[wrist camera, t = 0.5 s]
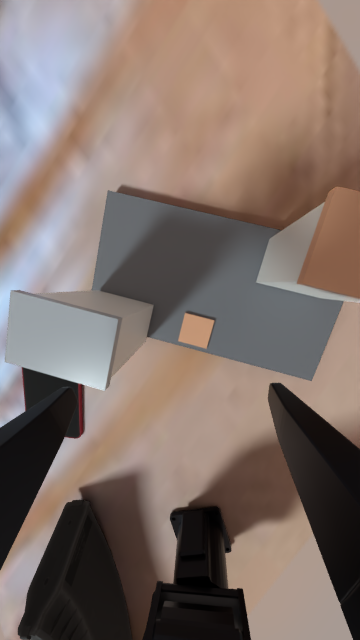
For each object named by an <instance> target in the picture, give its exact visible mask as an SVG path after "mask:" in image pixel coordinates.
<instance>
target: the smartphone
mask: <svg viewBox="0 0 360 640" xmlns="http://www.w3.org/2000/svg"><path fill="white" fill-rule="evenodd" d="M22 375H23V387H24V399H25V411H27V410H28V409H30V408H31V407H33V406H34V405H36V404H37V403H39V402H40V401H42V400H43V399H45V398H46V397H48V396H50V395H51V394H53V393H54V392H56V391H57V390H59V389H60V388H62V387H71V388H73V390H74V393H75V395H76V397H77V400H78V402H77V406H76V409H75V411H74V414H73V417H72V419H71V422H70V425H69V427H68V430H67V433H66V435H65V437H68V438H79V437H80V436H81V435H82V433H83V417H82V384H79V383H76V382H73V381H69V380H66V379H62V378H59V377H55V376H52V375H48V374H45V373H41V372H38V371H34V370H31V369H27V368H24V367H22Z"/></svg>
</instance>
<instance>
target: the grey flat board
mask: <svg viewBox="0 0 360 640" xmlns="http://www.w3.org/2000/svg"><path fill="white" fill-rule="evenodd" d="M280 231H282V230H278V229H274V228H269V227H265V226H261V225H256V224H252V223H248V222H243V221H239V220H234V219H230V218H226V217H221V216H217V215H213V214H208V213H204V212H200V211H195V210H191V209H187V208H182V207H178V206H174V205H169V204H165V203H161V202H156V201H152V200H148V199H143V198H139V197H134V196H130V195H126V194H121V193H117V192H113V191H108V193H107V199H106V205H105V212H104V218H103V224H102V230H101V236H100V243H99V249H98V255H97V261H96V268H95V274H94V280H93V286H92V291H93V290H99V291H102V292H106V293H110V294H114V295H118V296H122V297H126V298H129V299H133V300H137V301H141V302H145V303H149V304H153V305H154V306H153V311H152V315H151V320H150V324H149V329H148V333H147V337H150V338H154V339H157V340H161V341H165V342H169V343H172V344H176V345H180V346H183V347H187V348H191V349H195V350H198V351H202V352H206V353H209V354H213V355H217V356H221V357H224V358H228V359H232V360H235V361H239V362H243V363H247V364H250V365H254V366H258V367H261V368H265V369H269V370H273V371H276V372H280V373H284V374H287V375H291V376H295V377H299V378H302V379H306V380H310V381H312V379H313V376H314V374H315V371H316V369H317V366H318V364H319V361H320V359H321V356H322V354H323V351H324V349H325V346H326V344H327V341H328V339H329V336H330V334H331V331H332V329H333V326H334V324H335V321H336V319H337V316H338V314H339V311H340V309H341V306H342V304H343V301H340V300H331V299H323V298H317V297H313V296H309V295H305V294H301V293H297V292H293V291H289V290H285V289H281V288H277V287H273V286H268V285H264V284H260V283H256V281H257V277H258V274H259V271H260V268H261V265H262V261H263V258H264V255H265V252H266V249H267V245H268V242H269V239H270V238H271V237H273V236H274V235H276V234H277V233H279V232H280Z"/></svg>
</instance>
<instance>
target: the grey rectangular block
mask: <svg viewBox="0 0 360 640" xmlns="http://www.w3.org/2000/svg"><path fill="white" fill-rule="evenodd" d="M153 306H154V305H153V304H149V303H145V302H141V301H137V300H133V299H129V298H126V297H122V296H118V295H114V294H110V293H106V292H102V291H99V290H93V291H75V292H57V293H39V294H32V293H28V292H24V291H21V290H14V291H11V293H10V305H9V317H8V328H7V340H6V352H5V362H7V363H10V364H14V365H17V366H21V367H24V368H27V369H31V370H34V371H38V372H41V373H45V374H48V375H52V376H55V377H59V378H62V379H66V380H69V381H73V382H76V383H79V384H83V385H86V386H90V387H93V388H97V389H100V390H104V391H105V390H106V389H107V388H108V387H109V384H110V379H111V377H112V376H113V375H114V374H115V373H116V372H117V371H118V370H119V369H120V368H121V367H122V366H123V365H124V364H125V363H126V362H127V361H128V360H129V359H130V358H131V356H132V355H133V354H134V353H135V352H136V351H137V350H138V349H139V348H140V347H141V346H142V345H143V344H144V343H145V342H146V338H147V333H148V329H149V324H150V320H151V315H152V311H153Z"/></svg>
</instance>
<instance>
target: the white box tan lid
mask: <svg viewBox="0 0 360 640" xmlns="http://www.w3.org/2000/svg"><path fill="white" fill-rule="evenodd" d="M256 283H260V284H264V285H268V286H273V287H277V288H281V289H285V290H289V291H293V292H297V293H301V294H305V295H309V296H313V297H317V298H323V299H331V300H340V301H348V302H357V303H360V191H357V190H353V189H348V188H343V187H339V186H336V187H335V188H333V189H332V190H331V191H329V192H328V195H327V198H326V201H325V202H324V203H322V204H321V205H319V206H318V207H316V208H315V209H313V210H312V211H310V212H309V213H307V214H306V215H304V216H303V217H301V218H300V219H298V220H297V221H295V222H294V223H292V224H291V225H289V226H288V227H286V228H285V229H283V230H282V231H280V232H279V233H277V234H276V235H274V236H273V237H271V238H270V239H269V242H268V245H267V249H266V252H265V255H264V258H263V261H262V265H261V268H260V271H259V274H258V277H257V281H256Z"/></svg>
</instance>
